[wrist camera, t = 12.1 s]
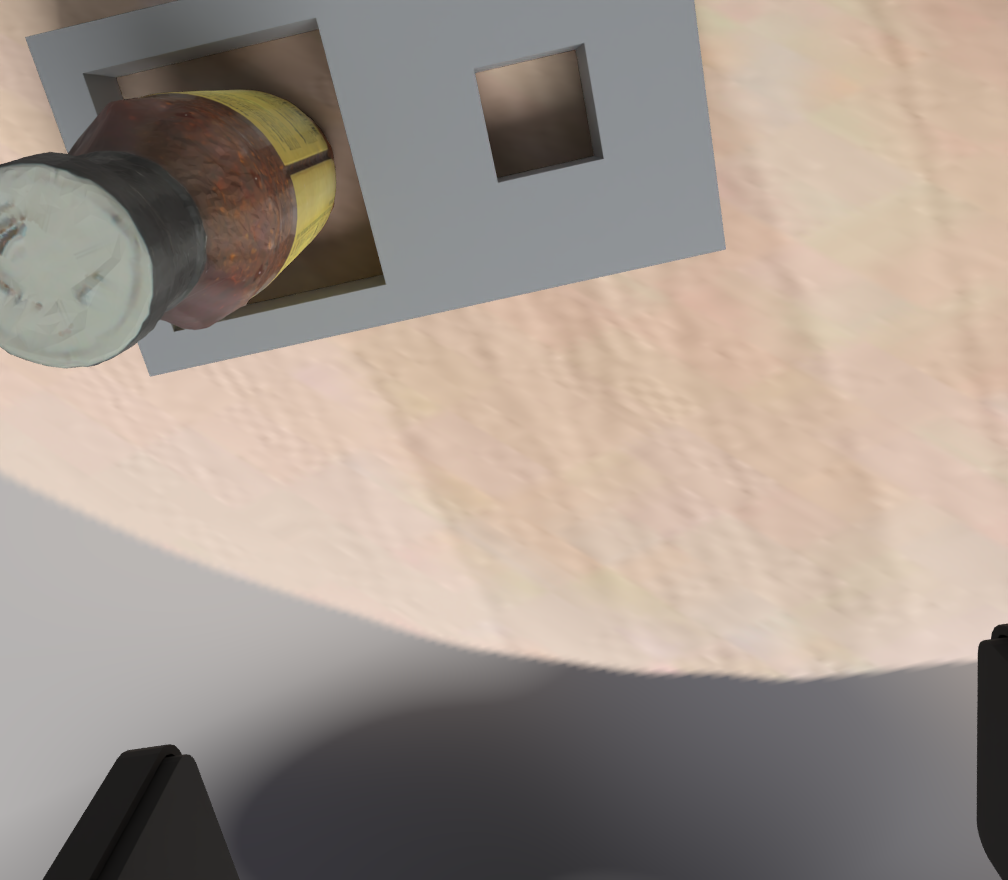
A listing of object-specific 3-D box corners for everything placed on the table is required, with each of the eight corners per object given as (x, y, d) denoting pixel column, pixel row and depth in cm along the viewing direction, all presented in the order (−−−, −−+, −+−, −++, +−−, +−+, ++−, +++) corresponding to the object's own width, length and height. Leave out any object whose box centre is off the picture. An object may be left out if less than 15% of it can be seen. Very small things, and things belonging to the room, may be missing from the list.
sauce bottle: (161, 116, 34) (-218, 112, 16) (313, 71, 34) (113, 11, 15) (222, 278, 36) (-44, 445, 18) (366, 238, 36) (248, 365, 17)
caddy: (660, -99, 32) (678, -121, 29) (706, 239, 36) (726, 249, 34) (63, 44, 33) (25, 37, 30) (175, 357, 37) (150, 376, 35)
